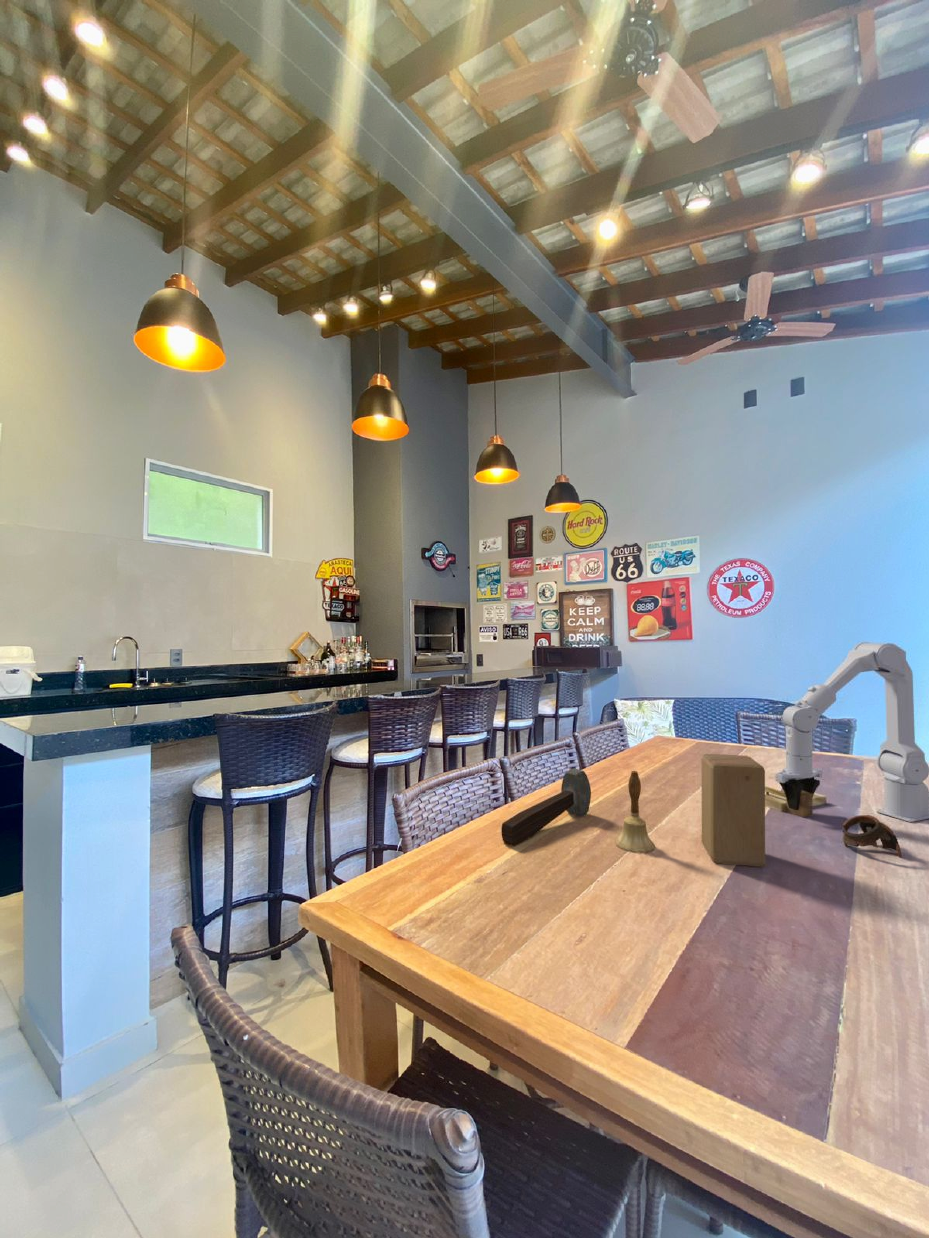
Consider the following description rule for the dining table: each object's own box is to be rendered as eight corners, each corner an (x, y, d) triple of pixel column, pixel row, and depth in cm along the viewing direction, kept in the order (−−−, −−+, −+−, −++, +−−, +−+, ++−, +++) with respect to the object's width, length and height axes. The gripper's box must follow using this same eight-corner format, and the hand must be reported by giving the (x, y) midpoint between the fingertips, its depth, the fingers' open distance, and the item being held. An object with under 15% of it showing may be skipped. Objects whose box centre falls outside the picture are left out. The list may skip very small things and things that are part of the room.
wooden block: (766, 869, 105) (766, 766, 105) (712, 864, 107) (712, 763, 107) (750, 848, 115) (750, 754, 115) (700, 844, 117) (700, 752, 117)
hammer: (517, 864, 115) (592, 812, 136) (513, 814, 114) (589, 769, 135) (500, 857, 118) (576, 807, 139) (496, 808, 117) (572, 765, 138)
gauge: (769, 800, 146) (769, 780, 146) (812, 815, 135) (812, 793, 135) (760, 802, 145) (760, 781, 145) (802, 817, 133) (802, 795, 133)
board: (801, 795, 150) (801, 788, 150) (826, 803, 144) (826, 795, 144) (757, 803, 144) (757, 795, 144) (781, 811, 137) (781, 803, 137)
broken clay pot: (911, 867, 107) (889, 831, 107) (858, 876, 112) (838, 842, 112) (897, 832, 118) (877, 799, 118) (849, 841, 122) (831, 810, 123)
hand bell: (660, 852, 112) (660, 776, 112) (621, 852, 112) (621, 776, 112) (647, 837, 121) (646, 766, 121) (610, 837, 121) (610, 766, 121)
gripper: (803, 748, 143) (803, 799, 143) (764, 753, 137) (764, 806, 137) (830, 754, 136) (830, 808, 136) (790, 759, 131) (790, 815, 131)
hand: (799, 807), depth 136 cm, fingers closed on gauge, 3 cm apart
